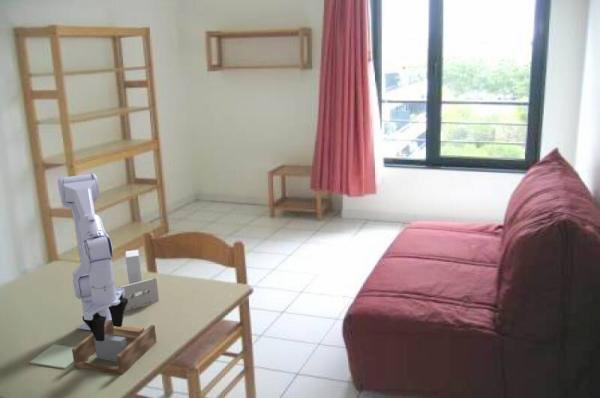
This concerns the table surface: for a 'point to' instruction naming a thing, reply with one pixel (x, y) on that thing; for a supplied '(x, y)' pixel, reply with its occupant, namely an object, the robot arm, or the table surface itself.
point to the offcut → (128, 332)
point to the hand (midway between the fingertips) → (109, 333)
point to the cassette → (142, 298)
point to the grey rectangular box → (110, 347)
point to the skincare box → (133, 266)
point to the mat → (55, 357)
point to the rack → (123, 358)
